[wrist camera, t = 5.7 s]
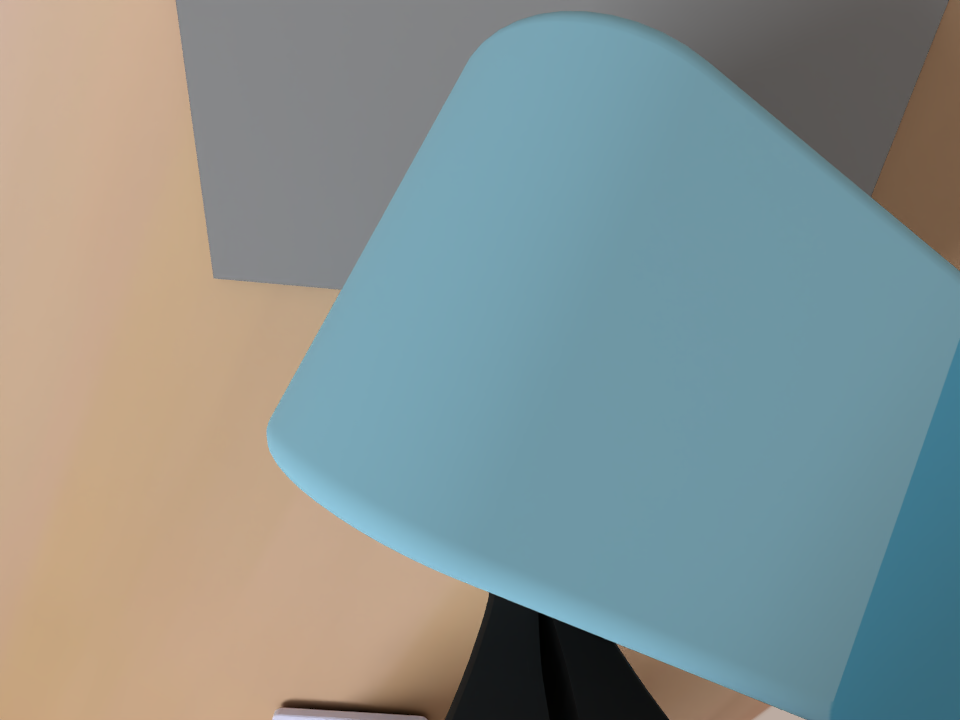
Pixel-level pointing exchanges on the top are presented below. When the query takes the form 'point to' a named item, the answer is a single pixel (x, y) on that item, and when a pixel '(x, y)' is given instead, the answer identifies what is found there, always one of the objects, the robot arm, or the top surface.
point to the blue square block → (653, 379)
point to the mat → (435, 70)
